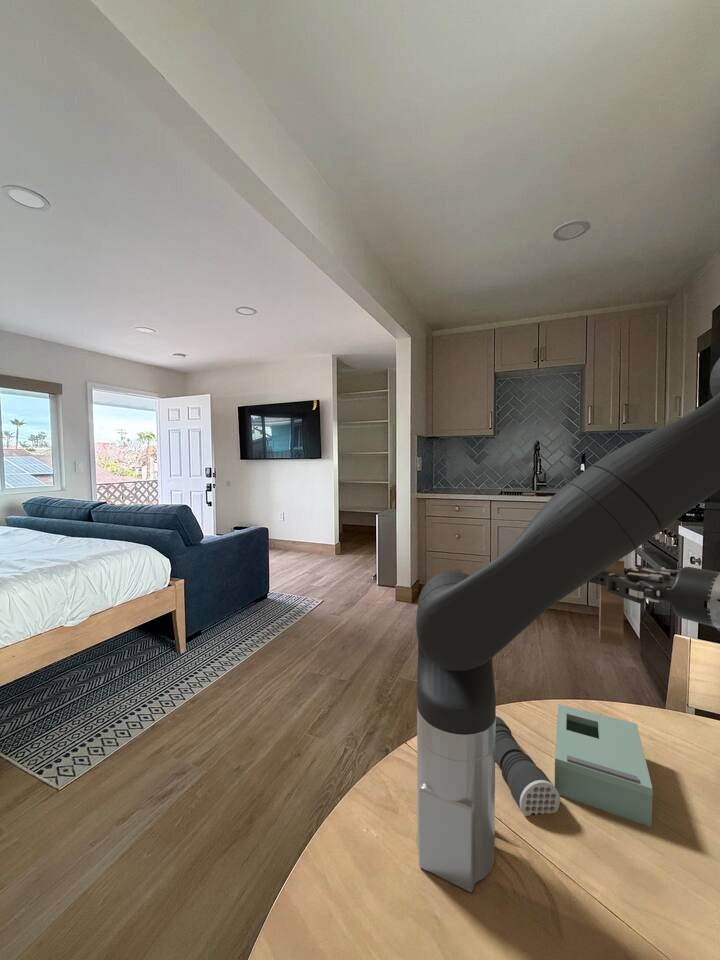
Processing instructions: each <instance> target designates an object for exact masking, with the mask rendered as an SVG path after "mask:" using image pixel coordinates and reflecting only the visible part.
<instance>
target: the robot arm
mask: <svg viewBox="0 0 720 960" xmlns="http://www.w3.org/2000/svg"><path fill="white" fill-rule="evenodd" d="M709 386H710V387H709V388H710V392H711V396H712V398H711V399H710V400H708V401H707V402H705V403H704V404H703V405H700V406H699V407H697V408H696V409H695V410H693V411H690V412H688V414H686V415H684V416H682V417H680V418H678V419H676V420H674V421H672V422H670V423H668V424H665V425H663V426H661V427H659V428H657V429H655V430H653V431H651V432H649V433H647V434H644V435H643V436H641V437H638V438H637V439H634V440H632V441H630V442H629V443H626V444H625V445H623V446H621V447H619V448H616V449H615V450H613V451H612V452H610V453H608V454H606V455H605V456H604V457H602V458H600V459H599V460H597V461H596V462H594V463H593V464H591V466H589V467H588V468H586V469H585V470H584V471H583V472H581V473H580V474H579V475H577V476H576V477H575V478H573V479H572V480H570V481H569V482H568V483H567V484H566V485H564V486H563V487H561V488H560V489H559V490H558V491H557V492H556V493H555V494H554V495H553V496H552V497H550V498H549V500H547V502H546V503H545V504H544V505H543V506H542V507H541V508H540V510H539V511H538V512H537V513H536V514H535V515H534V516H533V518H532V519H531V520H530V522H529V523H528V524H527V526H526V527H525V528H524V529H523V531H522V532H521V533H520V534H519V535H518V537H517V538H516V539H515V540H514V542H513V543H511V545H509V547H508V548H507V549H505V550H504V551H503V552H502V553H501V554H499V555H498V556H496V558H494V559H493V560H492V561H490V562H488V564H486V565H484V566H483V567H481V568H480V569H478V570H477V571H475V572H474V573H472V574H468V573H466V572H463V571H462V572H461V571H455V570H454V571H453V570H452V571H444V572H440V573H438V574H437V575H435V576H433V577H432V578H430V579H429V580H428V581H427V582H426V583H425V585H424V586H423V587H422V589H421V591H420V594H419V597H418V600H417V608H416V617H415V619H416V620H415V629H416V632H415V633H416V638H417V671H416V674H417V675H416V678H417V680H416V717H417V718H416V720H417V721H416V722H417V723H416V726H417V728H416V789H417V790H416V811H417V812H416V814H417V815H416V819H417V820H416V830H417V831H416V836H417V837H416V838H417V839H416V840H417V849H418V866H419V868H421V869H423V870H425V871H427V872H429V873H431V874H433V875H436V876H438V877H439V878H441V879H443V880H445V881H446V882H449V883H451V884H453V885H456V886H457V887H459V888H461V889H463V890H466V891H467V892H469V893H473V891H474V887H475V885H476V884H477V883H478V882H480V881H482V880H483V879H485V878H486V877H487V876H488V875H489V874H490V872H491V871H492V869H493V867H494V863H495V856H496V855H495V854H496V853H495V849H496V847H495V843H496V842H495V841H496V829H495V828H496V825H495V824H496V823H495V821H496V817H495V816H496V815H495V814H496V813H495V812H496V809H495V808H496V761H495V734H496V716H497V715H496V714H497V712H496V711H497V709H496V708H497V705H496V704H497V700H496V699H497V697H496V685H495V678H494V667H493V664H494V663H493V658H494V657H495V656H496V655H497V654H498V653H499V652H501V651H502V650H503V649H504V648H506V646H508V644H510V643H511V642H512V641H513V640H514V639H515V638H516V637H518V635H520V634H521V633H522V632H523V631H524V630H525V629H526V628H527V627H529V626H530V625H531V624H532V623H533V622H534V621H536V620H537V619H538V618H540V616H541V615H543V614H544V613H545V612H546V611H548V610H549V609H550V608H552V607H553V606H554V605H555V604H556V603H558V602H560V601H561V600H562V599H564V598H565V597H567V596H569V595H570V594H571V593H573V592H574V591H576V590H578V589H579V588H580V587H582V586H583V585H585V584H587V583H592V584H596V585H599V586H600V585H604V586H607V592H609V593H612V594H615V595H618V596H620V597H623V598H624V599H627V600H628V601H632V602H634V603H637V604H645V602H646V601H645V600H647V601H649V602H652V603H653V602H654V603H660V604H661V603H663V602H665V603H666V602H667V603H670V604H671V606H672V608H673V611H674V613H675V615H676V616H677V617H679V618H680V619H683V620H687V621H691V622H693V623H694V622H695V623H697V624H702V625H705V626H709V627H712V628H717V629H720V571H715V570H710V569H705V568H704V569H703V568H698V567H693V566H683V567H682V568H681V569H679V571H677V570H676V571H673V570H666V569H665V570H664V569H658V568H649V567H646V566H636V567H631V566H629V567H624V574H617V573H613V572H611V573H610V572H606V571H603V570H605V569H606V568H608V567H609V566H610V565H612V564H614V563H615V562H617V561H618V560H620V559H621V558H623V559H624V557H626V556H627V555H629V554H631V553H632V552H633V551H635V550H636V549H638V548H639V547H641V546H643V544H646V542H648V541H650V540H651V539H652V538H654V537H655V536H657V535H658V534H660V533H661V532H662V531H664V530H665V529H666V528H667V527H668V526H670V525H672V523H674V522H675V521H676V520H678V519H679V518H681V517H682V516H683V515H685V514H686V513H688V512H690V511H691V510H692V509H693V508H695V507H697V505H699V504H701V503H702V502H703V501H705V500H706V499H708V498H709V497H711V496H712V495H714V494H715V493H716V492H717V491H719V490H720V357H719V358H718V359H717V361H716V362H715V364H714V365H713V367H712V370H711V372H710V378H709ZM617 583H618V584H619V586H617Z"/></svg>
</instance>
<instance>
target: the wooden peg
mask: <svg viewBox="0 0 720 960" xmlns="http://www.w3.org/2000/svg"><path fill="white" fill-rule="evenodd" d="M624 568H625V560H624V557H623V558H621V559H620V560H618V561H617V562H615V563H614V564H612V565H610V566H609V567H608V568H606V569H605V570H603V571H606V572H610V573H611V572H613V573H617V574H624ZM617 586H619V584H618V583H617ZM624 609H625V598H623V597H620V596H618V595H615V594H612V593H609V592H607V586H604V585H600V584H599V615H598V617H599V621H598V622H599V625H598V627H599V628H598V629H599V631H598V633H599V635H598V636H599V642H600V643H601V644H607V645H611V646H616V647H617V646H618V647H624V622H625V620H624V617H625V613H624V612H625V610H624Z"/></svg>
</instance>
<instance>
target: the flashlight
mask: <svg viewBox="0 0 720 960" xmlns="http://www.w3.org/2000/svg"><path fill="white" fill-rule="evenodd" d="M495 764H497V765H498V767H499V769H500V771H501V775H502V778H503V781H504V783H506V785H507V787H508V788H509V791H510V794H511V796H512V798H513V799H514V801H515V803H516V805H517V807H518V808H519V809H520V811H521V813H522V814H523V816H524V817H528V816H530V817H531V815H532V814H534V815H535V816H537V815H538V814H541V815H544V814H554V813H557V812H558V810H559V808H560V803H561V797H560V795H559V793H558V791H557V789H556V788H555V784H553V782H552V781H551V780H550V779H549V777H548V776H547V775H546V773H545V772H544V771H543V769H541V768H540V767H538V766H537V765H536V763H535V762H534V760H533V758H531V756H530V755H528V754H527V753H524V751H523V749H521V747H520V746H519V745H518V742H517V740H516V739H515V737H514V736H513V734H512V731H511V729H510V727H509V726H508V724H506V722H505V721H504V720H503V719H502V718H501V717H500V716H498V715H496V734H495Z"/></svg>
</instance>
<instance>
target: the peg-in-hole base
mask: <svg viewBox="0 0 720 960" xmlns="http://www.w3.org/2000/svg"><path fill="white" fill-rule="evenodd" d="M556 715H557V716H556V717H557V719H556V734H555V751H554V754H555V755H554V786H555V788H556V789H557V791H558V793H559V796H561V797H563V798H567V799H569V800H571V801H572V800H573V801H575V802H578V803H581V804H584V805H587V806H590V807H592V808H594V809H595V808H596V809H599V810H601V811H603V812H606V813H609V814H612V815H615V816H618V817H620V818H623V819H627V820H630V821H632V822H635V823H638V824H641V825H644V826H647V827H650V828H652V826H653V823H652V821H653V820H652V819H653V793H654V792H653V791H654V790H653V784H652V781H651V777H650V773H649V768H648V764H647V759H646V756H645V753H644V748H643V744H642V740H641V735H640V733H639V728H638V724H637V723H636V722H632V721H628V720H623V719H620V718H615V717H611V716H608V715H605V714H604V715H603V714H601V713H596V712H592V711H588V710H585V709H579V708H576V707H572V706H568V705H565V704H564V705H563V704H560V703H557V714H556Z"/></svg>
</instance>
